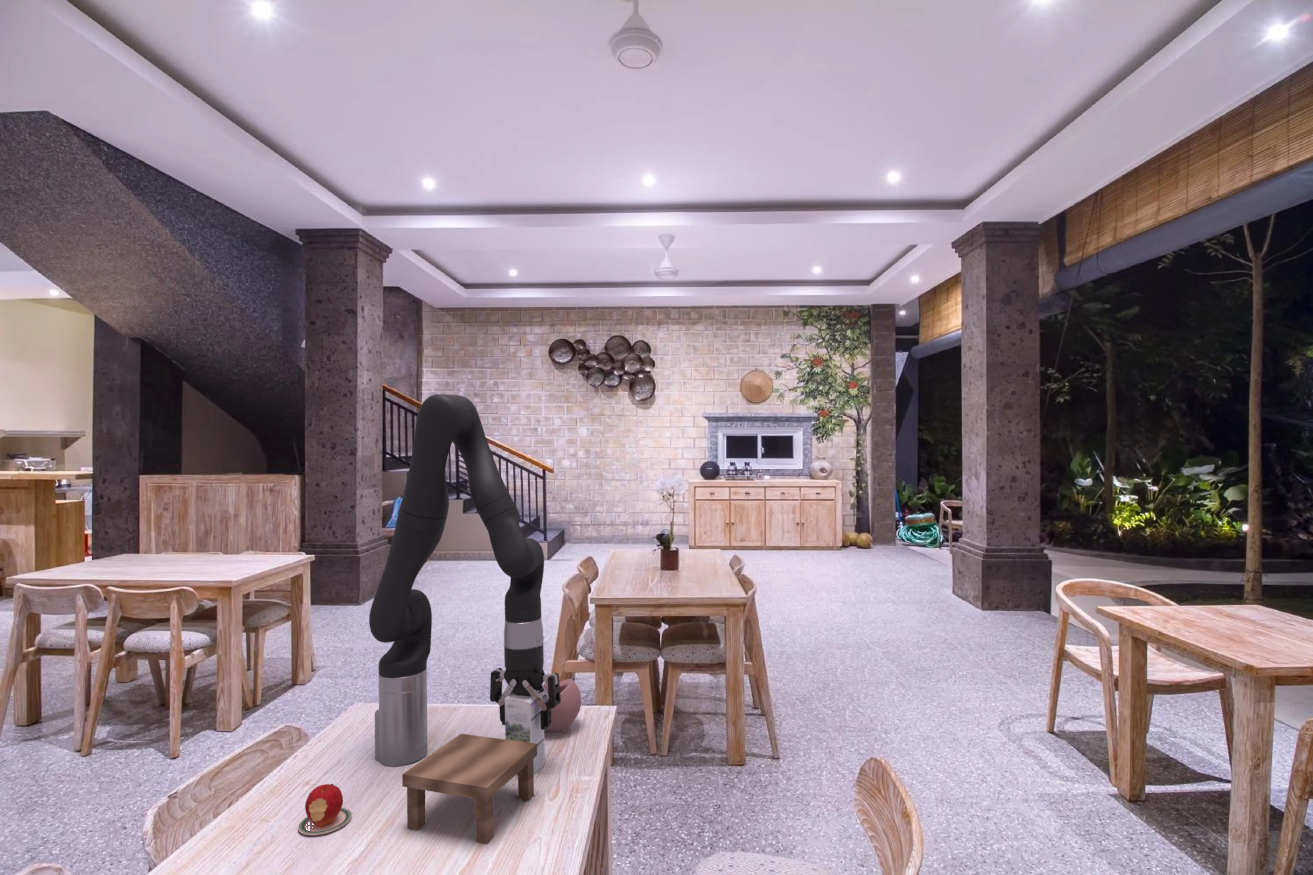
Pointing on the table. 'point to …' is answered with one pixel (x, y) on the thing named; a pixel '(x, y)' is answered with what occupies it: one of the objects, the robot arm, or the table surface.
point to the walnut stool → (470, 777)
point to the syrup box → (525, 724)
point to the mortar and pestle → (565, 706)
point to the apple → (324, 811)
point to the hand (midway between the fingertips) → (525, 725)
